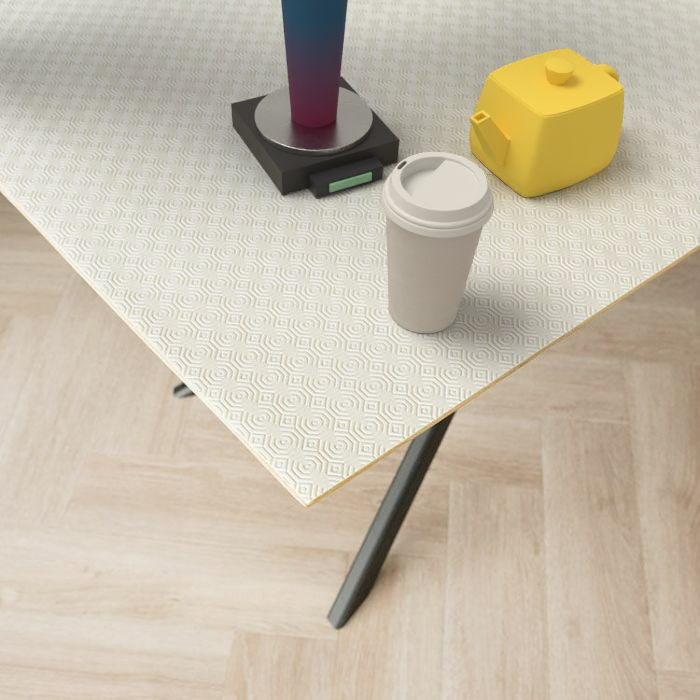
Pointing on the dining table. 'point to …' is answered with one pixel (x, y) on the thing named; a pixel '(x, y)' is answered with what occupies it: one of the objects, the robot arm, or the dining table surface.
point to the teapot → (548, 121)
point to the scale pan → (309, 141)
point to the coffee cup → (432, 236)
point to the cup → (314, 58)
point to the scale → (318, 170)
